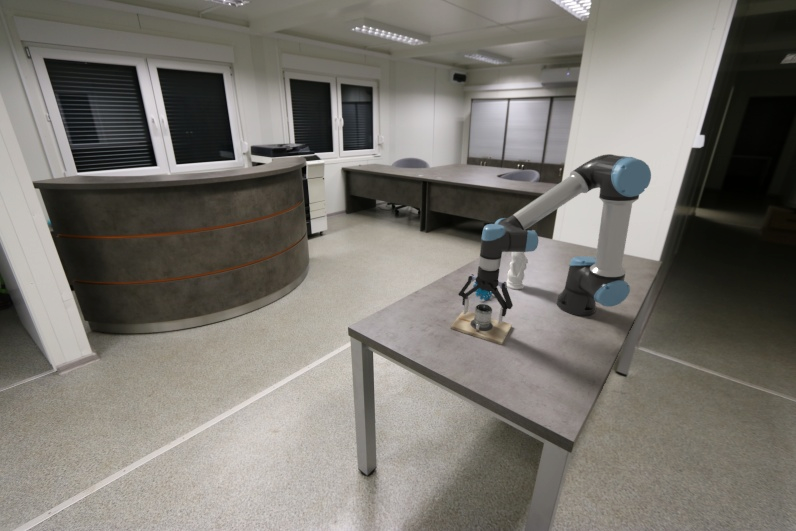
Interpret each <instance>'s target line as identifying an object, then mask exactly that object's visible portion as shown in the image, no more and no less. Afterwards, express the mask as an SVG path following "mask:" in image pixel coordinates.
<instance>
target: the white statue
mask: <svg viewBox="0 0 796 531" xmlns="http://www.w3.org/2000/svg"><path fill="white" fill-rule="evenodd" d="M510 255H511V261H510V262H509V270H508V271H507V276H506V277H507V280H506V281H505V282H506V283H507V288H508V289H511V290H517V291H518V290H522V289H524V284H523V280H524V279H525V270H526V269H527V264H529V260H528V258H527V256H526V254H525V252H510Z"/></svg>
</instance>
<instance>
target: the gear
mask: <svg viewBox="0 0 796 531" xmlns="http://www.w3.org/2000/svg"><path fill="white" fill-rule="evenodd" d="M476 285H477V282H476V280H474V284H473V287H475V286H476ZM473 287H472V288H473ZM473 293H475V295H476V296H475V297H479V296H480V297H479V299H480V300H484V301H488V299H491V298H492V297H491V296H492V295H493V294H492V292H491V291H490V292H487V291H485V290H481V289H480V288H479V289H477V290H476V291H474V292H473Z"/></svg>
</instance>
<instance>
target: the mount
mask: <svg viewBox="0 0 796 531" xmlns="http://www.w3.org/2000/svg"><path fill="white" fill-rule="evenodd" d="M474 316H475V312H471V311H468V312H467V313H466V314H464V310H463V311H461V313H460V314H459V315H458V316H457V318H456V319H455V320H454V322H453V323H452V324H451V325H450V329H451V330H454V331H457V332H460V333H463V334H466V335H470V336H473V337H476V338H479V339H483V340H484V341H485V340H486V341H488V342H492V343H494V344H498V345H503V344H504V342H505V340H506V338H507V336H508V334H509V333H510V330H511V328H512V326H513V324H512V323H509V322H505V321H503V320H502V322H501V324H498V321H499V319H495V318H493V317H491V323H492V325H493V327H492V329H491V330H489V331H479V332H476V329H474V328H473V327H472V326H471V321H472V320H474Z"/></svg>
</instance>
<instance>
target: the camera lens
mask: <svg viewBox="0 0 796 531" xmlns="http://www.w3.org/2000/svg"><path fill="white" fill-rule="evenodd" d="M474 313H475V316H474V324H475V325H476V324H477V323H478V324H480V327H479V328H487V327H489V325H490V322H491V318H492V313H493V308H492V307H491V305H488V304H485V303H480V304H477V305H476V306H475V310H474Z"/></svg>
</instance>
